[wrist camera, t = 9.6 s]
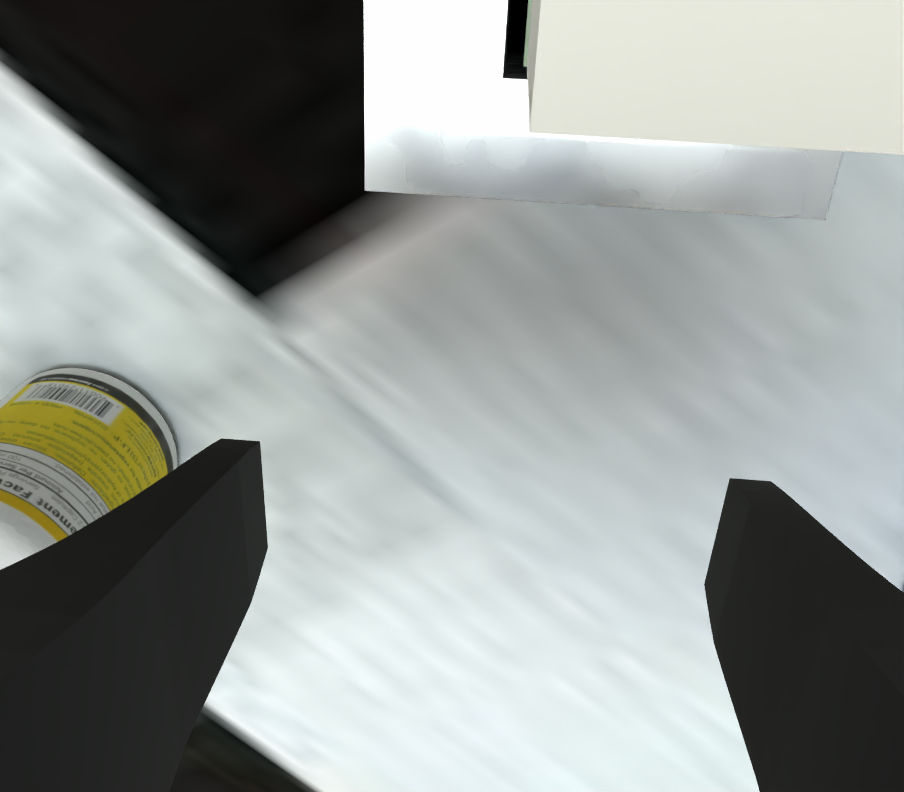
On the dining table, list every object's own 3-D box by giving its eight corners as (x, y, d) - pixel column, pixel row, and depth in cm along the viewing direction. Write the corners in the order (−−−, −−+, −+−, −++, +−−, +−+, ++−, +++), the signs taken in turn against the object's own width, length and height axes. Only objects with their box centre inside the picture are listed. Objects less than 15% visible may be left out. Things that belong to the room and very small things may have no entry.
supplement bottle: (83, 535, 27) (-123, 804, 18) (-28, 403, 25) (-319, 635, 16) (218, 480, 26) (62, 742, 17) (112, 333, 24) (-126, 548, 15)
